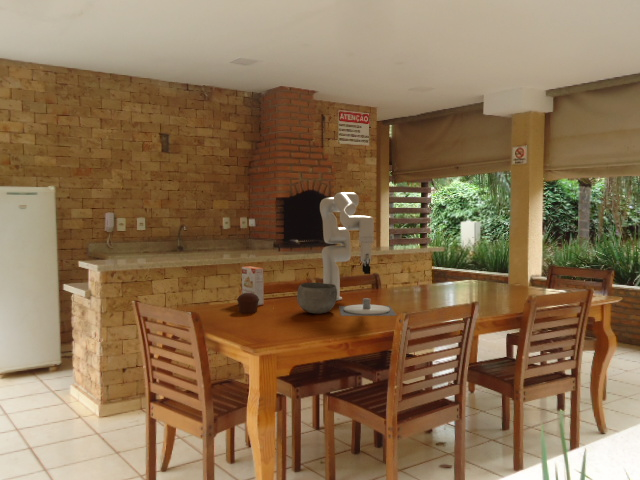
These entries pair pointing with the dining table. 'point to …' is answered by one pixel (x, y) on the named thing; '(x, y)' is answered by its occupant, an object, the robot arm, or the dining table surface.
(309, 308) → the bowl
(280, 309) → the dining table surface
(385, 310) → the lid
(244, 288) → the cracker box
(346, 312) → the mat
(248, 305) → the muffin
